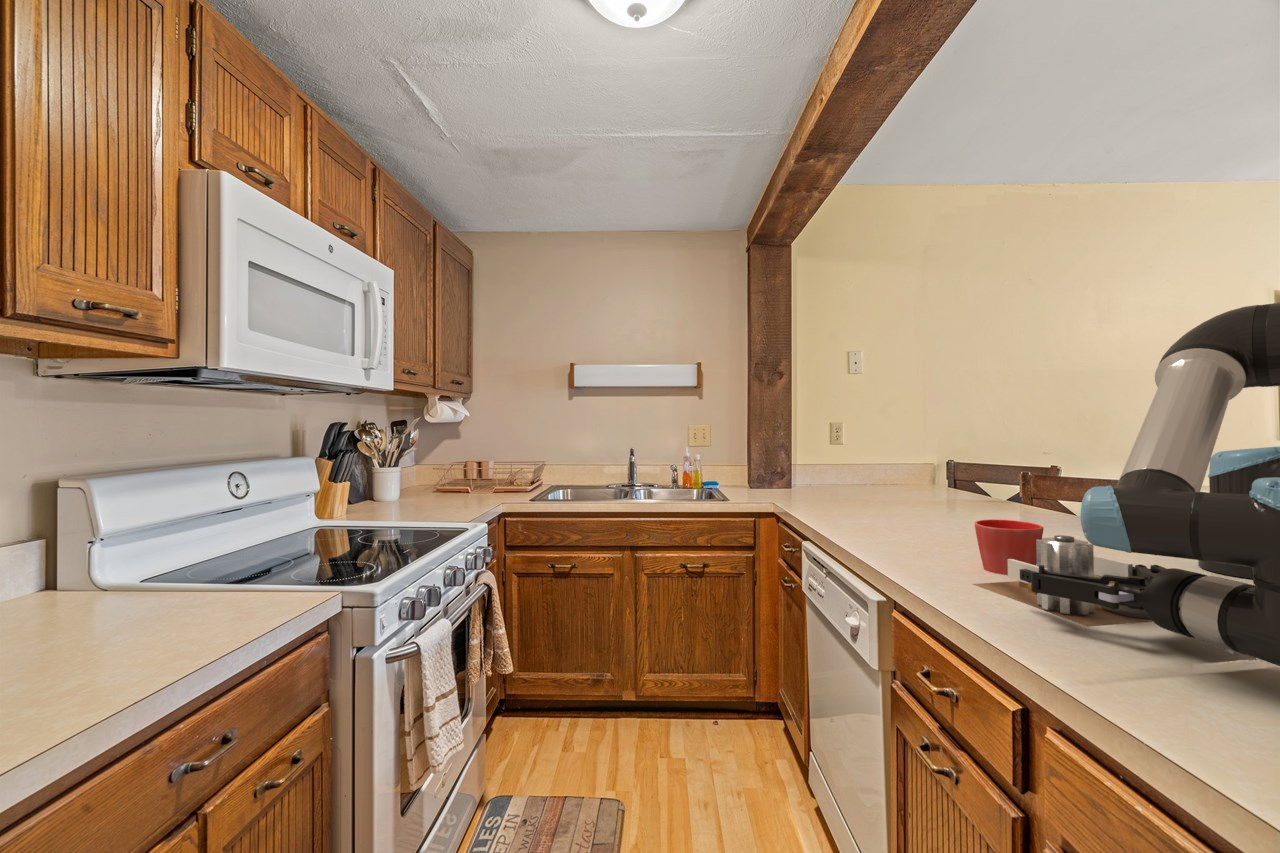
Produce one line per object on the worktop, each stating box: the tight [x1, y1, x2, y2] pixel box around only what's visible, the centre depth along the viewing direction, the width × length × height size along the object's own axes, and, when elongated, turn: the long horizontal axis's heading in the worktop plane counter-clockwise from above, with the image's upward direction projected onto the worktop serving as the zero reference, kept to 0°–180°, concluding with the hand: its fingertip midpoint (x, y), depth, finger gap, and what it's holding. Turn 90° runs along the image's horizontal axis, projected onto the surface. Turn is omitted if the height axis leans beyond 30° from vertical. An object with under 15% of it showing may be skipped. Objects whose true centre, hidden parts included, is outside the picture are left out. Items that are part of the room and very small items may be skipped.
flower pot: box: [974, 519, 1044, 576], centre depth 111 cm, size 11×11×10 cm
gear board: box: [972, 580, 1153, 627], centre depth 93 cm, size 19×22×1 cm
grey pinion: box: [1036, 534, 1095, 615], centre depth 88 cm, size 7×7×11 cm
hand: (1049, 565), depth 90 cm, fingers open, 13 cm apart
